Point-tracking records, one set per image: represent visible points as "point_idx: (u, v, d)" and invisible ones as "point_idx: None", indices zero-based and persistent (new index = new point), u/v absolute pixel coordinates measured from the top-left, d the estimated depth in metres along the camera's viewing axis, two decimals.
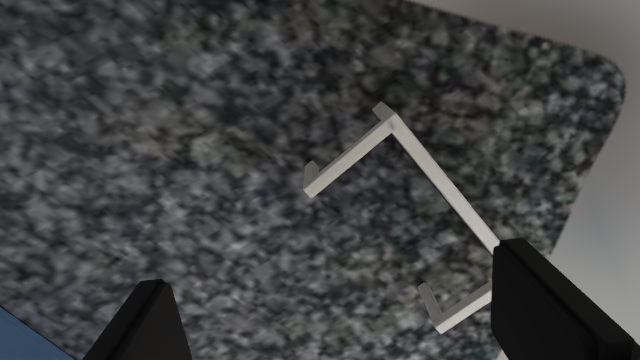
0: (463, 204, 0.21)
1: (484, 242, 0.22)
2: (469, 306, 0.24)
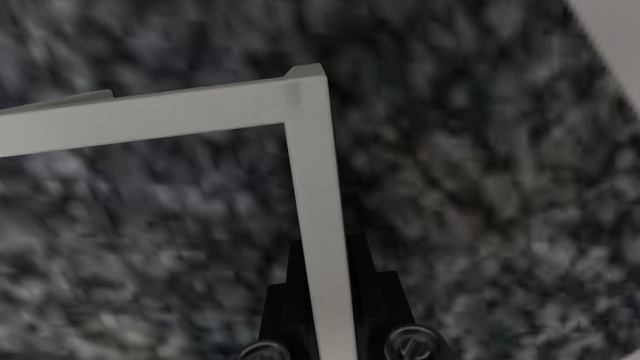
0: None
1: None
2: None
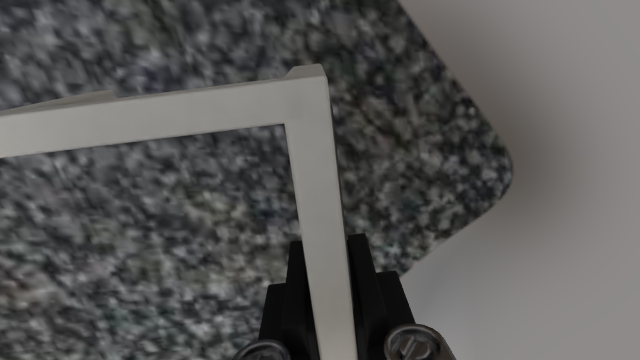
0: None
1: None
2: None
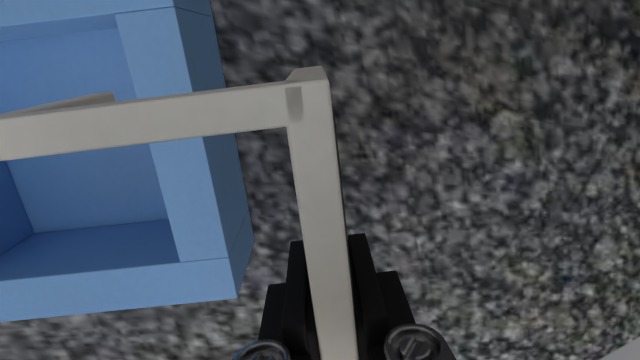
0: None
1: None
2: None
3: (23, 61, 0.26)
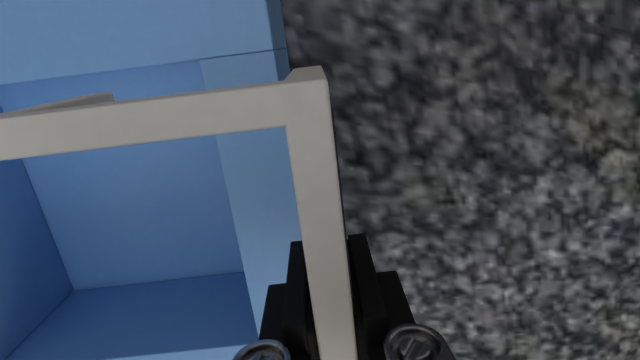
0: None
1: None
2: None
3: None
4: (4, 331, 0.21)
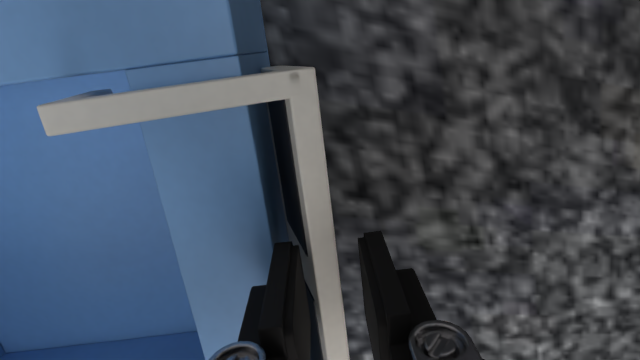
0: (333, 285, 0.12)
1: None
2: None
3: None
4: None
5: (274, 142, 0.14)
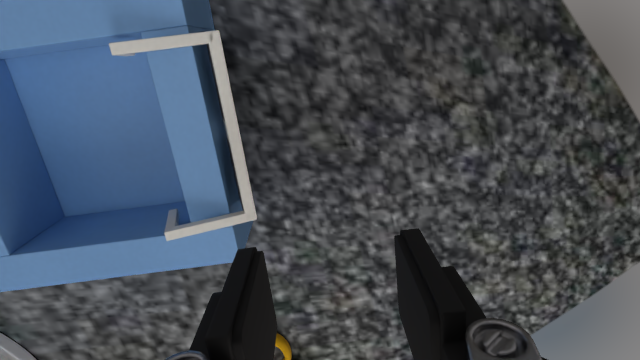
0: (235, 133, 0.26)
1: (237, 173, 0.27)
2: (202, 225, 0.27)
3: (57, 70, 0.31)
4: (15, 230, 0.30)
5: (212, 72, 0.28)
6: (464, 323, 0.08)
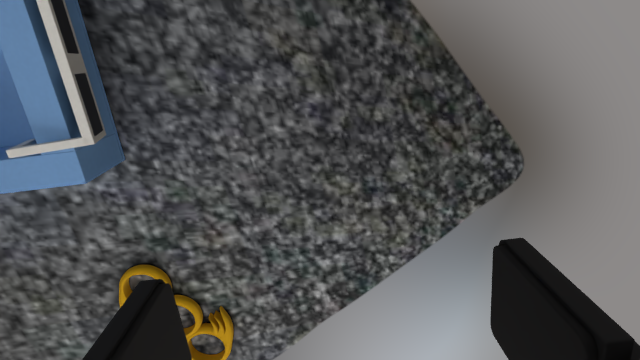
0: (64, 64, 0.30)
1: (70, 101, 0.31)
2: (41, 146, 0.31)
3: None
4: None
5: None
6: (629, 354, 0.07)
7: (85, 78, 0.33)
